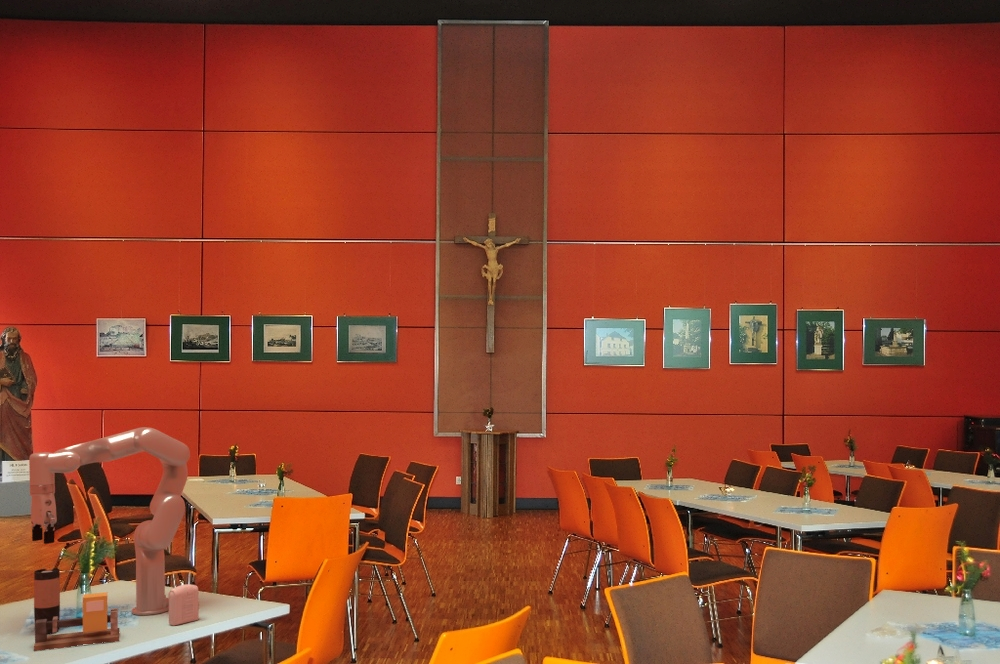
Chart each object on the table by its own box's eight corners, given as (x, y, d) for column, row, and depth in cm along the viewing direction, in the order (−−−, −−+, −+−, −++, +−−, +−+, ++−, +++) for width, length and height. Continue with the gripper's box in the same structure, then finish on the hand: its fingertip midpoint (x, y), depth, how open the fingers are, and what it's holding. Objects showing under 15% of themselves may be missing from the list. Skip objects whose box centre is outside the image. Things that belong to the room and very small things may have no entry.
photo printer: (192, 618, 327) (192, 581, 327) (200, 619, 324) (200, 582, 325) (166, 625, 318) (166, 587, 319) (174, 626, 316) (174, 588, 317)
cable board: (119, 632, 310) (119, 605, 311) (119, 641, 299) (118, 613, 300) (37, 641, 302) (37, 614, 302) (33, 651, 291) (33, 622, 291)
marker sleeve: (107, 625, 306) (107, 592, 307) (107, 630, 301) (106, 595, 301) (83, 628, 304) (83, 594, 304) (82, 632, 298) (82, 598, 299)
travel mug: (43, 636, 307) (43, 573, 308) (29, 633, 312) (28, 571, 312) (65, 630, 314) (64, 569, 315) (50, 628, 318) (50, 567, 319)
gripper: (64, 490, 316) (65, 542, 315) (43, 487, 328) (44, 537, 327) (40, 492, 310) (41, 546, 310) (20, 489, 322) (21, 541, 322)
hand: (43, 541), depth 318 cm, fingers open, 9 cm apart
